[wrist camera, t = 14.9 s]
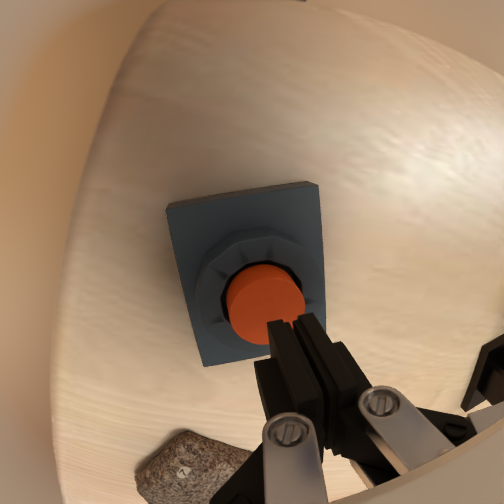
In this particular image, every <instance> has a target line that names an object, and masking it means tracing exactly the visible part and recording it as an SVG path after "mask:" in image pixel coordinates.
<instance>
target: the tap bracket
mask: <svg viewBox="0 0 504 504" xmlns="http://www.w3.org/2000/svg"><path fill="white" fill-rule="evenodd" d="M486 399H487V400H488V401H489V402H490V404H491V405H492V406H493V405H495V404H498V403H501V402H503V401H504V334H503V335H501V336H500V337H498V338H496V339H494V340H493V341H491V342H489V343H487V344H485V345H484V346H482V349H481V352H480V356H479V359H478V362H477V365H476V368H475V371H474V374H473V376H472V379H471V382H470V385H469V387H468V390H467V392H466V395H465V397H464V400H463V402H462V405H461V408H462V409H463V410H464V411H465V412H467V411H468V410H470V409H472V408H473V407H475V406H477V405H478V404H480V403H481V402H483V401H485V400H486Z"/></svg>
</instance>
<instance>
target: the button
mask: <svg viewBox="0 0 504 504" xmlns="http://www.w3.org/2000/svg"><path fill="white" fill-rule="evenodd" d="M226 302H227V308H228V313H229V318H230V322H231V325H232V327H233V329H234V331H235V332H236V333H237V334H238V335H239V336H240V337H241V338H243V339H244V340H246V341H248V342H251V343H254V344H262V345H264V344H269V338H268V330H267V322H269V321H274V320H279V319H282V320H283V322H289V323H290V325H291V327H292V329H293V325H292V322H293V320H297V316H298V315H302V314H304V313H305V301H304V297H303V295H302V293H301V291H300V290H299V289H298V287H297V286H296V284H295V283H294V281H293V280H292V278H291V277H290V275H289V274H288V273H287V272H285V271H284V270H283V269H281V268H279V267H277V266H274V265H268V264H260V265H255V266H251V267H249V268H247V269H245V270H243V271H242V272H240V273H239V274H238V275H237V276H236V277H235V278H234V279H233V280H232V282H231V283H230V285H229V287H228V290H227V295H226Z"/></svg>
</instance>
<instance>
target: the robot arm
mask: <svg viewBox="0 0 504 504" xmlns="http://www.w3.org/2000/svg"><path fill="white" fill-rule="evenodd" d="M292 325H293V329H292V327H291V325H290V323H289V322H283V320H282V319H279V320H274V321H269V322H267V330H268V338H269V346H270V354H271V358H269V359H264V360H259V361H254V368H255V374H256V379H257V384H258V389H259V393H260V397H261V401H262V405H263V409H264V412H265V416H266V420H267V422H266V424H265V425H264V427H263V431H262V443H261V444H260V445H259V446H258V448H257V449H256V450H255V451H254V452H253V453H252V454H251V456H250V457H249V458H248V459H247V460H246V461H245V462H244V463H243V464H242V465H241V467H240V468H239V469H238V470H237V471H236V472H235V473H234V474H233V475H232V476H231V477H230V478H229V479H228V480H227V481H226V483H225V484H224V485H223V486H222V487H221V488H220V489H219V490H218V491H217V492H216V493H215V494H214V495H213V496H212V498H211V499H208V500H205V501H201V502H198V501H197V500H196V501H192V502H189V503H185V504H504V401H503V402H501V403H498V404H495V405H493V406H490V407H487V408H484V409H481V410H478V411H475V412H472V413H469V414H468V415H467V417H465V418H464V417H462V416H459V415H453V414H448V413H443V412H438V411H433V410H428V409H423V408H418V407H415V406H414V405H413V404H412V403H411V402H410V401H409V400H408V399H407V398H406V397H405V396H404V395H403V394H402V393H401V392H399V391H398V390H397V389H395V388H392V387H389V386H375V387H372V385H371V384H370V382H369V381H368V379H367V378H366V376H365V375H364V373H363V372H362V370H361V369H360V367H359V366H358V364H357V363H356V361H355V360H354V358H353V357H352V355H351V354H350V352H349V351H348V349H347V348H346V346H345V345H344V344H343V342H341V341H339V342H336V343H332V342H331V340H330V338H329V337H328V335H327V334H326V332H325V330H324V329H323V327H322V326H321V324H320V323H319V321H318V319H317V318H316V316H315V315H314V313H313V312H311V313H307V314H302V315H298V316H297V320H293V322H292ZM324 447H325V449H326V450H328V449H331V450H332V452H333V455H334V456H336V455H339V454H341V456H342V457H344V458H347V459H349V461H350V463H351V466H352V467H353V468H354V470H355V471H356V473H357V474H358V475H359V477H360V478H361V480H362V481H363V482H364V484H365V485H366V487H367V488H368V490H365V491H362V492H360V493H357V494H354V495H351V496H348V497H345V498H342V499H339V500H336V501H333V502H330V503H328V498H327V492H326V486H325V481H324V475H323V470H322V463H323V453H324Z"/></svg>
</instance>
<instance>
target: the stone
mask: <svg viewBox="0 0 504 504" xmlns="http://www.w3.org/2000/svg"><path fill="white" fill-rule="evenodd" d="M251 454H252V452H249V451H246V450H242V449H238V448H235V447H232V446H230V445H227V444H224V443H221V442H216V441H213V440H210V439H207V438H205V437H202V436H199V435H197V434H194V433H191V432H189V431H188V432H184V433H182V434H179V435H178V436H176V437H174V438H173V439H172V440H171V441H170V442H169V444H168V445H167V447H166V448H165V449H164V450H163V451H162V452H161V454H160V455H159V456H157V457H154V459H152V460H151V462H150V463H149V465H148V466H147V467H146V468H145V469H144V471H141V473H140V474H137V475H135V481H136V484H137V491H138V492H139V494H140V495H141V496H142V497H143V498H144V499H145V500H146V501H147V502H148V504H185V503H189V502H192V501H196V500H197V501H198V502H201V501H205V500H208V499H211V498H212V496H213V495H214V494H215V493H216V492H217V491H218V490H219V489H220V488H221V487H222V486H223V485H224V484H225V483H226V481H227V480H228V479H229V478H230V477H231V476H232V475H233V474H234V473H235V472H236V471H237V470H238V469H239V468H240V467H241V465H242V464H243V463H244V462H245V461H246V460H247V459H248V458H249V457H250V456H251Z"/></svg>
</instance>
